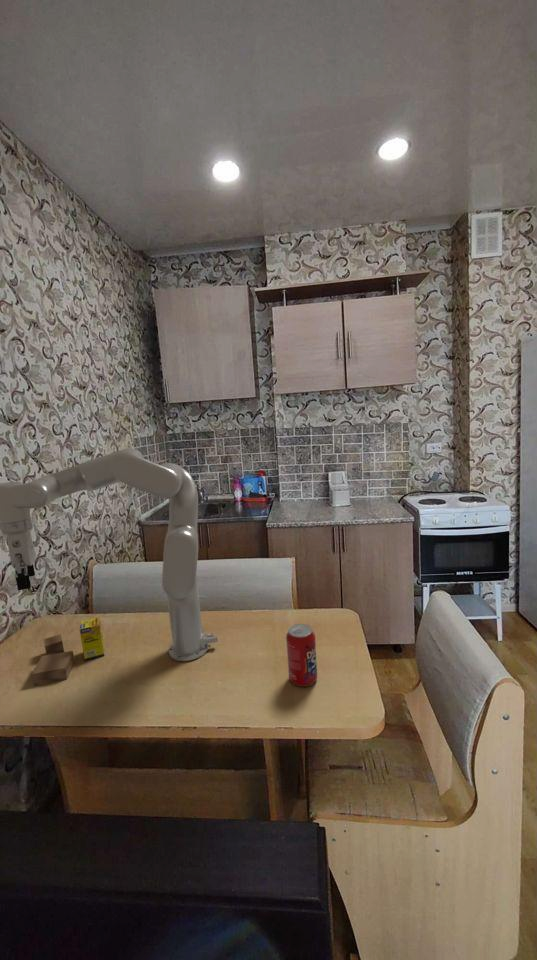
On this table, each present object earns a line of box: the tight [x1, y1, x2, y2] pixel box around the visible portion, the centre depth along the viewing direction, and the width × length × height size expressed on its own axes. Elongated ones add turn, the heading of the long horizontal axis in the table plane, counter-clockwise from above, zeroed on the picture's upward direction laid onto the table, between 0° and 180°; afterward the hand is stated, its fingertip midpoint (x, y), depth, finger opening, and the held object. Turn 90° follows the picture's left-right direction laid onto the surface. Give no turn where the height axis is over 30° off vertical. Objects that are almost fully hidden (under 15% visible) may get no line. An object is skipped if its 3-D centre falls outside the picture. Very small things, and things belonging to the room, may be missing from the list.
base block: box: [31, 650, 75, 686], centre depth 126 cm, size 9×9×4 cm
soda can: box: [285, 623, 318, 687], centre depth 114 cm, size 8×8×15 cm
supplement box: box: [79, 616, 105, 662], centre depth 134 cm, size 6×6×11 cm
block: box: [43, 633, 65, 655], centre depth 136 cm, size 5×5×5 cm
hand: (26, 582), depth 121 cm, fingers open, 9 cm apart
